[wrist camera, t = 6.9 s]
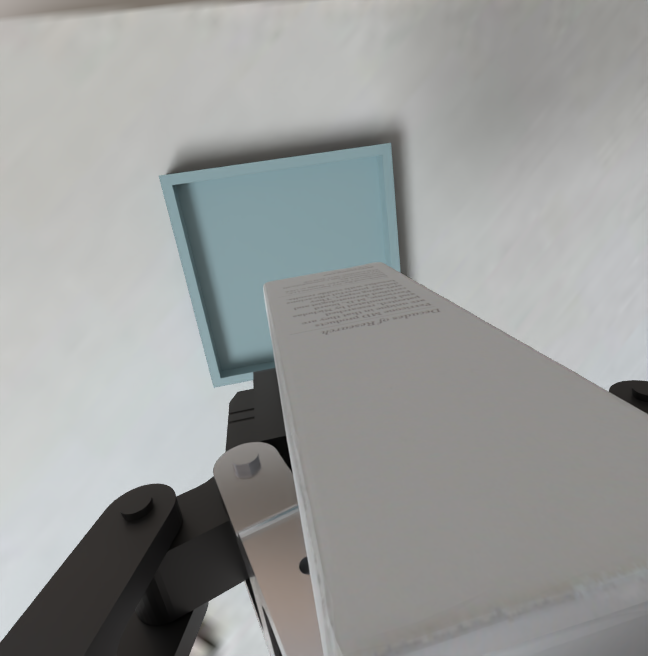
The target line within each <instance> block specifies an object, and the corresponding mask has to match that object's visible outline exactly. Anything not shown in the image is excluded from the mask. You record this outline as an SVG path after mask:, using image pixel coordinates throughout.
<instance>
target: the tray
mask: <svg viewBox="0 0 648 656" xmlns="http://www.w3.org/2000/svg"><path fill="white" fill-rule="evenodd" d="M159 179H160V182H161V186H162V190H163V194H164V198H165V202H166V206H167V209H168V213H169V217H170V221H171V225H172V229H173V233H174V236H175V240H176V244H177V248H178V252H179V256H180V259H181V263H182V267H183V271H184V275H185V279H186V283H187V286H188V290H189V294H190V298H191V302H192V306H193V309H194V313H195V317H196V321H197V325H198V329H199V333H200V336H201V340H202V344H203V348H204V352H205V356H206V360H207V363H208V367H209V371H210V375H211V379H212V383H213V386H214V388H215V387H220V386H225V385H230V384H235V383H240V382H245V381H250V380H253V372H255V371H260V370H265V369H271V368H276V367H275V361H274V354H273V347H272V341H271V336H270V330H269V324H268V318H267V312H266V306H265V299H264V292H263V285H264V284H265V283H267V282H270V281H276V280H281V279H287V278H293V277H298V276H304V275H309V274H315V273H321V272H327V271H333V270H339V269H345V268H351V267H355V266H360V265H365V264H369V263H375V262H382V263H384V264H386V265H388V266H389V267H391V268H393V269H395V270H396V271H398V272H400V258H399V245H398V231H397V218H396V204H395V190H394V177H393V163H392V150H391V143H386V144H379V145H372V146H365V147H358V148H351V149H344V150H337V151H330V152H323V153H316V154H309V155H302V156H295V157H287V158H280V159H273V160H266V161H259V162H252V163H245V164H238V165H231V166H224V167H217V168H210V169H203V170H196V171H189V172H182V173H175V174H168V175H161V176H159ZM400 273H401V272H400Z"/></svg>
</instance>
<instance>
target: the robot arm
mask: <svg viewBox="0 0 648 656" xmlns="http://www.w3.org/2000/svg"><path fill="white" fill-rule="evenodd" d="M253 383H254V389H250V390H245V391H240V392H237V394H236V395H235V396H234V397H233V399H232V400H231V401H230V403H229V416H228V428H227V440H226V452H225V453H224V454H223V455H222V456H221V457H220V458H219V459H218V460H217V461H216V463H215V465H214V468H213V474H214V476H213V477H212V478H211V479H210V480H208V481H207V482H205V483H204V484H202V485H200V486H198V487H196V488H194V489H192V490H190V491H188V492H185V493H183V494H181V495H179V496H177V497H176V494H175V492H174V490H173V489H172V488H171V487H169V486H167V485H164V484H149V485H144V486H141V487H138V488H135V489H133V490H131V491H129V492H127V493H125V494H123V495H122V496H120V497H119V498H117V499H116V500H115V501H114V502H113V503H111V504H110V505H109V506H108V508H107V509H106V510H105V511H104V512H103V514H102V515H101V516H100V517H99V519H98V520H97V521H96V522H95V524H94V525H93V526H92V528H91V529H90V530H89V531H88V533H87V534H86V535H85V536H84V538H83V539H82V540H81V541H80V543H79V544H78V545H77V546H76V548H75V549H74V550H73V551H72V553H71V554H70V555H69V557H68V558H67V559H66V560H65V562H64V563H63V564H62V565H61V567H60V568H59V569H58V570H57V572H56V573H55V574H54V575H53V577H52V578H51V579H50V581H49V582H48V583H47V584H46V586H45V587H44V588H43V589H42V591H41V592H40V593H39V594H38V596H37V597H36V598H35V599H34V601H33V602H32V603H31V605H30V606H29V607H28V608H27V610H26V611H25V612H24V613H23V615H22V616H21V617H20V618H19V620H18V621H17V622H16V623H15V625H14V626H13V627H12V628H11V630H10V631H9V632H8V634H7V635H6V636H5V637H4V639H3V640H2V641H1V642H0V656H189V654H190V652H191V649H192V647H193V644H194V642H195V639H196V636H197V634H198V631H199V629H200V626H201V624H202V621H203V619H204V616H205V613H206V611H207V607H208V602H209V601H210V600H212V599H213V598H215V597H217V596H219V595H220V594H222V593H224V592H225V591H227V590H229V589H231V588H232V587H234V586H236V585H238V584H239V583H241V582H243V581H244V582H245V585H246V588H247V591H248V593H249V596H250V599H251V602H252V605H253V608H254V610H255V613H256V616H257V619H258V622H259V624H260V627H261V630H262V633H263V636H264V639H265V641H266V644H267V647H268V650H269V653H270V656H324V654H323V648H322V642H321V636H320V630H319V624H318V618H317V612H316V606H315V600H314V594H313V588H312V582H311V576H310V570H309V564H308V558H307V552H306V547H305V541H304V535H303V529H302V523H301V517H300V511H299V506H298V500H297V494H296V489H295V483H294V477H293V472H292V466H291V460H290V455H289V449H288V443H287V437H286V431H285V424H284V418H283V411H282V405H281V398H280V392H279V386H278V379H277V373H276V368H271V369H265V370H260V371H255V372H253ZM609 392H610V393H612V394H613V395H615V396H617V397H619V398H620V399H622V400H624V401H626V402H627V403H629V404H631V405H633V406H634V407H636V408H638V409H640V410H641V411H643V412H645V413H647V414H648V381H636V380H632V381H622V382H618V383H616V384H614V385H612V386H611V387H610V389H609Z"/></svg>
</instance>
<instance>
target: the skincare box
mask: <svg viewBox="0 0 648 656" xmlns="http://www.w3.org/2000/svg"><path fill="white" fill-rule="evenodd" d="M263 292H264V299H265V306H266V312H267V318H268V324H269V330H270V336H271V341H272V347H273V354H274V361H275V367H276V373H277V379H278V386H279V392H280V398H281V405H282V411H283V418H284V424H285V431H286V437H287V443H288V449H289V455H290V460H291V466H292V472H293V477H294V483H295V489H296V494H297V500H298V506H299V511H300V517H301V523H302V529H303V535H304V541H305V547H306V552H307V558H308V564H309V570H310V576H311V582H312V588H313V594H314V600H315V606H316V612H317V618H318V624H319V630H320V636H321V642H322V648H323V654H324V656H648V414H647V413H645V412H643V411H641V410H640V409H638V408H636V407H634V406H633V405H631V404H629V403H627V402H626V401H624V400H622V399H620V398H619V397H617V396H615V395H613V394H612V393H610V392H608V391H606V390H605V389H603V388H601V387H599V386H598V385H596V384H594V383H592V382H591V381H589V380H587V379H585V378H584V377H582V376H580V375H579V374H577V373H575V372H574V371H572V370H570V369H568V368H566V367H565V366H563V365H561V364H559V363H557V362H556V361H554V360H552V359H550V358H549V357H547V356H545V355H543V354H541V353H540V352H538V351H536V350H534V349H533V348H531V347H530V346H528V345H526V344H524V343H522V342H521V341H519V340H517V339H515V338H513V337H512V336H510V335H508V334H507V333H505V332H503V331H501V330H500V329H498V328H496V327H494V326H492V325H491V324H489V323H487V322H485V321H484V320H482V319H480V318H478V317H477V316H475V315H474V314H472V313H470V312H469V311H467V310H465V309H463V308H461V307H460V306H458V305H456V304H454V303H453V302H451V301H449V300H448V299H446V298H444V297H442V296H440V295H439V294H437V293H435V292H433V291H432V290H430V289H428V288H426V287H425V286H423V285H421V284H419V283H418V282H416V281H414V280H412V279H411V278H409V277H407V276H405V275H404V274H402V273H400V272H398V271H396V270H395V269H393V268H391V267H389V266H388V265H386V264H384V263H382V262H375V263H369V264H365V265H360V266H355V267H351V268H345V269H339V270H333V271H327V272H321V273H315V274H309V275H304V276H298V277H293V278H287V279H281V280H276V281H270V282H267V283H265V284H264V285H263Z"/></svg>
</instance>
